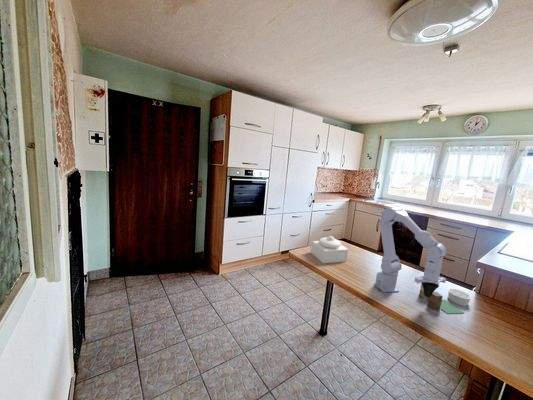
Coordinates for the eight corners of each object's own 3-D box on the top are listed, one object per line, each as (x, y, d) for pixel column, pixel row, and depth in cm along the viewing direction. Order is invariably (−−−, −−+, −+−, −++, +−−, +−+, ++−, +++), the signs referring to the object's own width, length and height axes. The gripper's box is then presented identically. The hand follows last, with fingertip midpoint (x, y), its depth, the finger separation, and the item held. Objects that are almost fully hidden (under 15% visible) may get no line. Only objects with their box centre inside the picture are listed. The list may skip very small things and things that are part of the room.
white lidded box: (310, 252, 166) (312, 231, 163) (332, 251, 171) (334, 230, 169) (323, 263, 150) (326, 240, 147) (346, 261, 155) (349, 239, 152)
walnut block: (433, 309, 108) (436, 296, 107) (427, 305, 112) (430, 291, 110) (439, 309, 109) (442, 296, 108) (433, 304, 112) (436, 291, 111)
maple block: (425, 299, 117) (428, 286, 115) (418, 295, 120) (421, 282, 119) (430, 297, 118) (432, 285, 117) (423, 294, 121) (425, 281, 120)
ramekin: (456, 295, 122) (458, 288, 121) (474, 306, 113) (476, 298, 113) (442, 296, 120) (444, 288, 120) (459, 307, 112) (460, 299, 111)
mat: (447, 313, 106) (447, 313, 106) (429, 300, 116) (429, 300, 115) (464, 313, 107) (464, 312, 107) (444, 300, 117) (445, 299, 117)
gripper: (425, 273, 101) (420, 301, 103) (454, 273, 103) (448, 301, 106) (413, 266, 108) (408, 292, 110) (440, 266, 110) (434, 292, 113)
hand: (427, 296), depth 108 cm, fingers closed
